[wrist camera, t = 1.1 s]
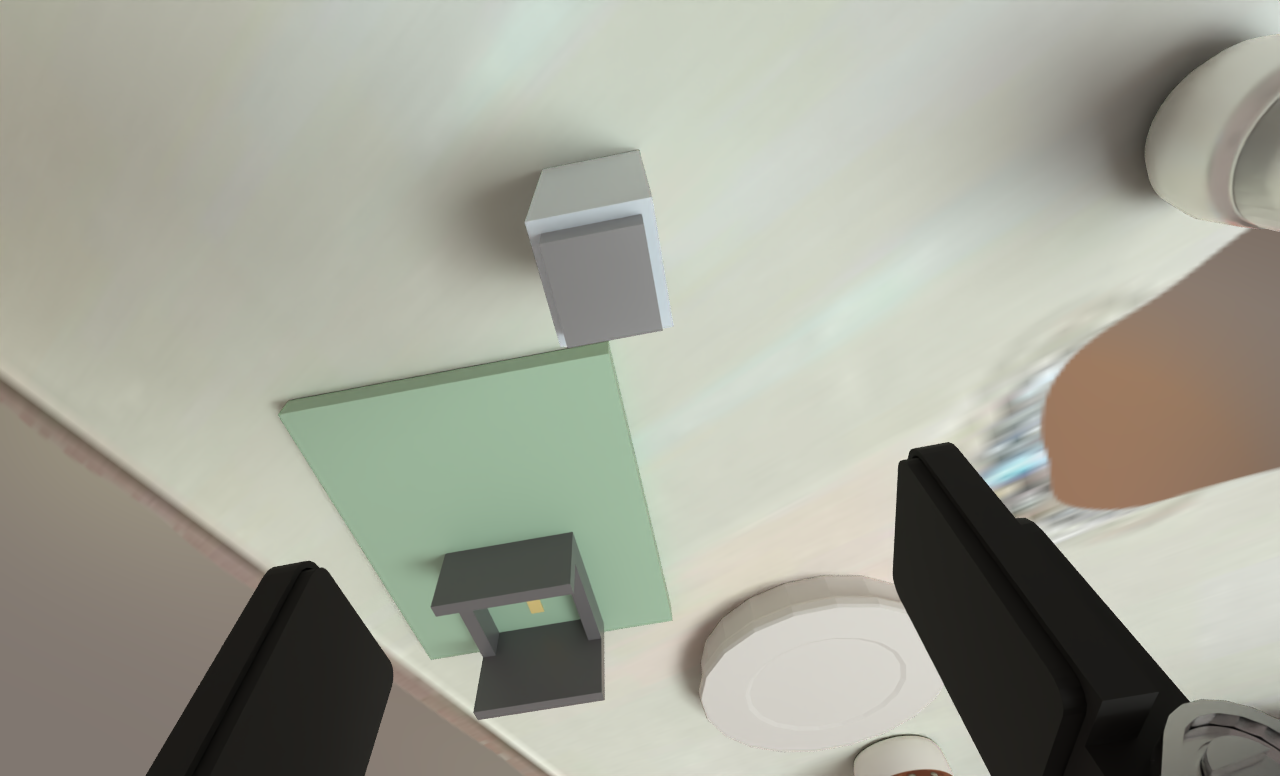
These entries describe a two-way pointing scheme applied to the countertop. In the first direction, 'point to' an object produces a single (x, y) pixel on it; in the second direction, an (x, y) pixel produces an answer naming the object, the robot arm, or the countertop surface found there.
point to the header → (531, 657)
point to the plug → (599, 250)
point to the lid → (816, 666)
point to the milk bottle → (902, 758)
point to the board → (489, 482)
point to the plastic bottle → (1222, 138)
